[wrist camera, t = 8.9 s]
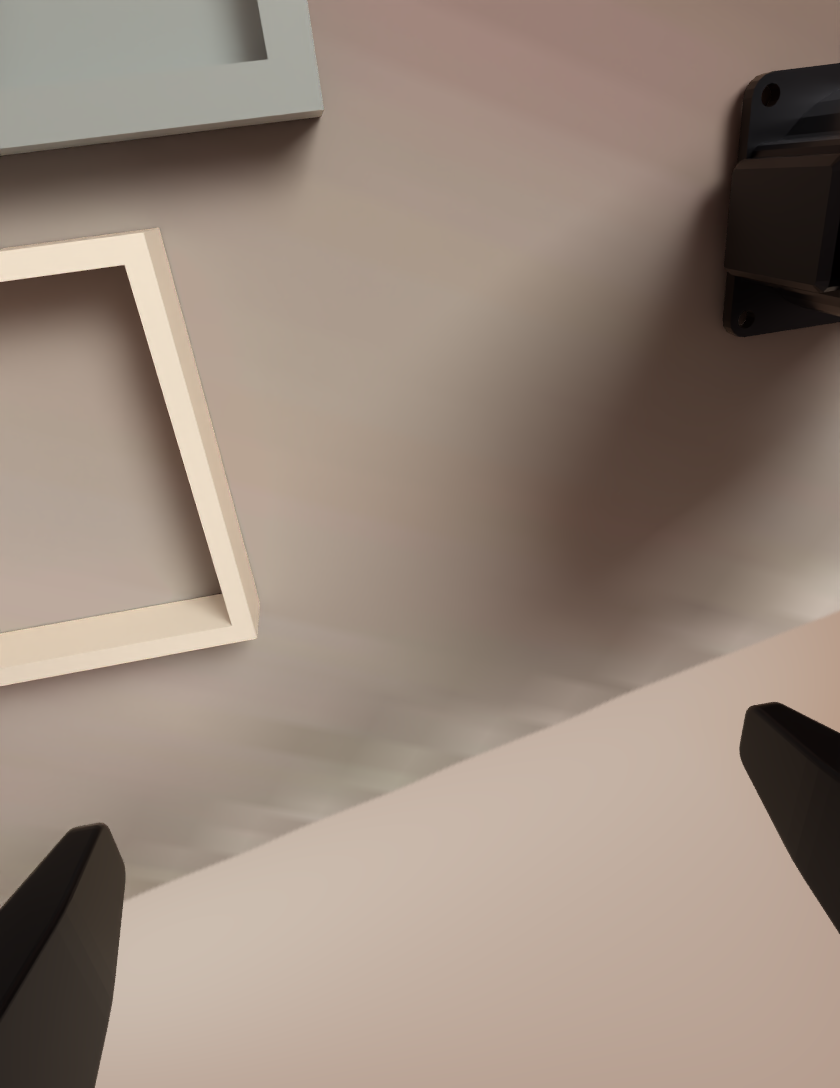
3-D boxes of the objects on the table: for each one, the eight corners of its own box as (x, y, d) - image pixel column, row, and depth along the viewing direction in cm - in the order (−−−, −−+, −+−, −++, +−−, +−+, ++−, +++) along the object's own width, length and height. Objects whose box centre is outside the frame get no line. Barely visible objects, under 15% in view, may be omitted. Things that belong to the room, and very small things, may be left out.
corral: (159, 227, 17) (143, 232, 15) (260, 603, 22) (256, 638, 21) (-326, 292, 16) (-401, 305, 14) (-100, 668, 21) (-135, 711, 20)
